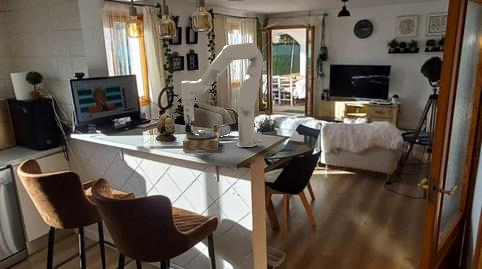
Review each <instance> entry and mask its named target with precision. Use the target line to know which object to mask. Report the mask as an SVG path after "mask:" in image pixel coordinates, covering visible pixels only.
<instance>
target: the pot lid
mask: <svg viewBox="0 0 482 269" xmlns="http://www.w3.org/2000/svg"><path fill="white" fill-rule="evenodd" d="M190 126H191V133H186V132H185V136H186V137H187V138H189V139H210V138H214V137H216V132H214V130H206V129H198V130H194V124H193V125H190Z"/></svg>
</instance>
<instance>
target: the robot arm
mask: <svg viewBox="0 0 482 269" xmlns="http://www.w3.org/2000/svg"><path fill="white" fill-rule="evenodd" d="M239 60H240V61H241V60H247V61H248V63H247V68H246V72H245V76H244V78H243V81H242V85H241V89H240V92H239V97H238V99H237V113H238V114H237V115H238V116H237V117H238V118H237V122H238V124H237V125H238V126H237V127H238V142H236V144H235V145H237V146H249V145H253V144H256V143H257V144H262V143H263V139H260V138H258V139H256V138H255V105H256V102H257V98H258V94H259V90H260V85H261V83H260V80H261V74H262V71H263V65H264V58H263V55H262V52H261V51H260V50H259V49H258V46H257V45H256V44H255V43H253V42H245V43H237V44H236V43H235V44H227V45H225V46H224V47H223V48H222V50H221V51H220V52H219V53H218V54H217V56H216V57H215V58H214V59H213V61H212V62H211V63H210V64H209V66H208V67H207V70H206V71H205V72H204V73H203V75H201V77H200V78H199V79H198V80H196V81H192V80H183V81H181V83H180V91H181V105H182V106H183V119H184V123H185V134H186V133H191V126H190V125H193V126H194V123H193V122H194V121H195V111H194V110H195V109H194V108H195V107H194V106H195V104H196V103H195V100H196V99H195V94H198V95H202V94H204V93H205V92H206V91H208V89H209V88H210V87H211V86H212V85H213V83H215V81H216V80H217V79H218V78H220V77H221V75H222V74H223V73H224V72H225V71H226V69H227V68H228V67H229V66H230V64H232V62H234V61H239ZM237 146H236V147H237Z"/></svg>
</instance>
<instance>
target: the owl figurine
mask: <svg viewBox="0 0 482 269" xmlns="http://www.w3.org/2000/svg"><path fill="white" fill-rule="evenodd" d="M156 129H157V132H158V133H159V134H158V135H156V136H155V140H156V141H158V142H162V141H165V142H166V143H167V142H168V141H169V142H172V141H177V140H176V139H177V137H176V135H174V134H175V133H176V130H175V129H176V127H175V124H174V122H173V118H172V117H167V114H165V113H164V114H161V116H160V117H159V118H158V120H157V121H156ZM165 142H164V143H165ZM169 142H168V143H169Z"/></svg>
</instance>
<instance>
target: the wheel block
mask: <svg viewBox="0 0 482 269" xmlns="http://www.w3.org/2000/svg"><path fill="white" fill-rule="evenodd" d="M218 144H220V138H219V133H216V137H214V138H210V139H189V138H187V137H186V135H185V136H184V138H183V139H182V151H183V152H193V151H194V152H197V151H196V150H209V151H214V150H213V149H218V150H219V146H218Z"/></svg>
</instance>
